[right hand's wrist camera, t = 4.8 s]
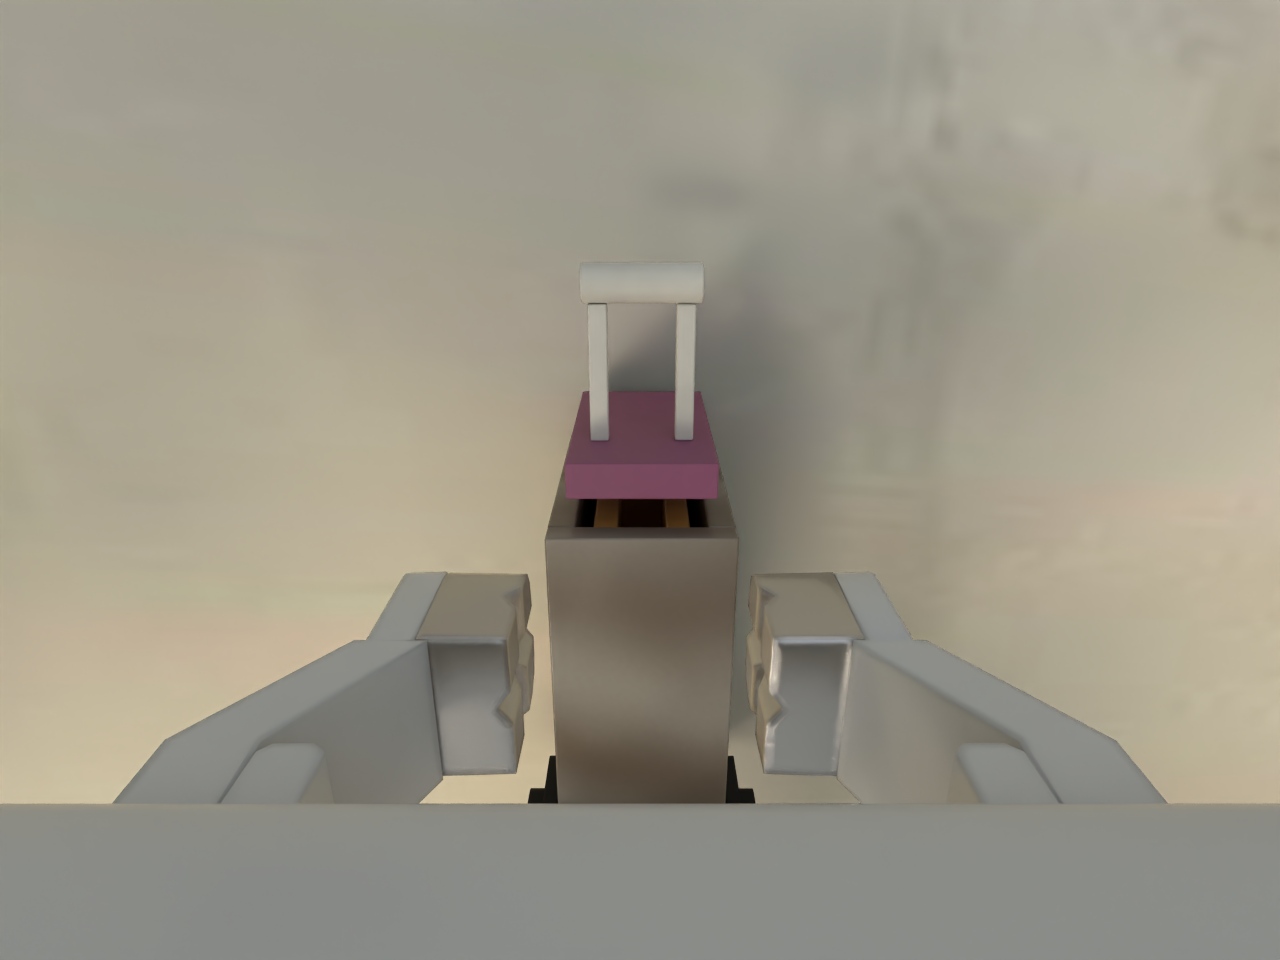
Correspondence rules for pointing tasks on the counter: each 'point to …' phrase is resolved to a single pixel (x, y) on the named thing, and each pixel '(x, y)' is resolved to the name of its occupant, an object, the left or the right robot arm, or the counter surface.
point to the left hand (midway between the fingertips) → (641, 785)
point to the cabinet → (641, 653)
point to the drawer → (641, 409)
